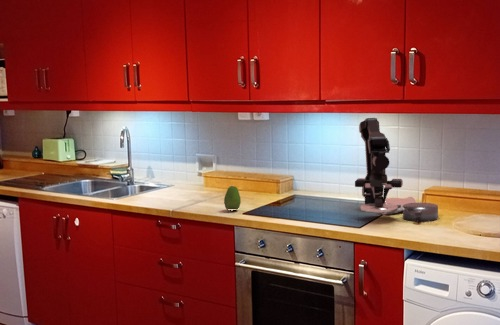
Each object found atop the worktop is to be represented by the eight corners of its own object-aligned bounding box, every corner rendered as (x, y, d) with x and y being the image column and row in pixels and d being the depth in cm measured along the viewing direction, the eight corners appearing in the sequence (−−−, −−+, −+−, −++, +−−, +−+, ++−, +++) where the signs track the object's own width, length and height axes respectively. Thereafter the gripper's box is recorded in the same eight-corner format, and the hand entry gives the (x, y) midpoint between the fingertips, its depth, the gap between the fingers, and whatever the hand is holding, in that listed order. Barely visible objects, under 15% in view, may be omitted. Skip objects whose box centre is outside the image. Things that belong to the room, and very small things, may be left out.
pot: (399, 223, 237) (399, 211, 236) (405, 213, 254) (404, 202, 253) (436, 224, 232) (436, 212, 231) (439, 214, 249) (439, 202, 248)
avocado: (243, 211, 275) (242, 186, 273) (227, 213, 272) (225, 188, 271) (238, 208, 282) (237, 183, 281) (222, 210, 280) (221, 185, 279)
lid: (357, 212, 241) (357, 199, 240) (364, 205, 255) (363, 193, 254) (395, 213, 235) (394, 200, 235) (399, 206, 249) (399, 194, 249)
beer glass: (418, 203, 255) (389, 207, 249) (412, 214, 259) (383, 218, 254) (410, 192, 259) (381, 195, 254) (405, 203, 264) (376, 206, 258)
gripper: (351, 169, 239) (352, 206, 241) (399, 169, 232) (399, 208, 234) (357, 165, 249) (358, 201, 251) (402, 165, 243) (403, 202, 245)
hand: (379, 203), depth 245 cm, fingers closed on lid, 3 cm apart
